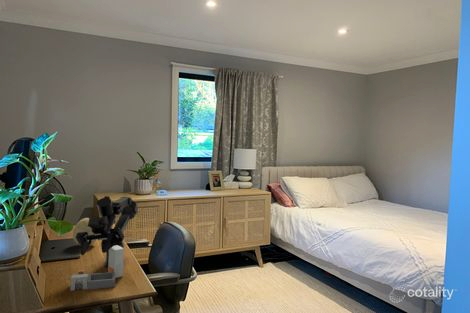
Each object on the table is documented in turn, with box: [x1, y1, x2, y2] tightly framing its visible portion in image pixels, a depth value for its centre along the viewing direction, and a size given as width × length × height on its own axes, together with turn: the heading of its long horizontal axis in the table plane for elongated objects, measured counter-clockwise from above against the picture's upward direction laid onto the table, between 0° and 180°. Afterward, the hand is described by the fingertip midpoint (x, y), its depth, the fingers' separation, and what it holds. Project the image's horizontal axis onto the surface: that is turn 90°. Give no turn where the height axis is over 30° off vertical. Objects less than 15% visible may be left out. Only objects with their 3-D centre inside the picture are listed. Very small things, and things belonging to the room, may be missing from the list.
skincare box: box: [107, 245, 125, 279], centre depth 145 cm, size 6×4×12 cm
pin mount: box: [69, 273, 89, 292], centre depth 132 cm, size 6×6×4 cm
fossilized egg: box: [72, 217, 98, 247], centre depth 181 cm, size 13×13×15 cm
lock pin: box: [75, 269, 85, 290], centre depth 136 cm, size 11×2×3 cm, turn 21°
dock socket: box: [86, 271, 116, 291], centre depth 136 cm, size 8×10×3 cm
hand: (92, 253), depth 133 cm, fingers open, 9 cm apart
